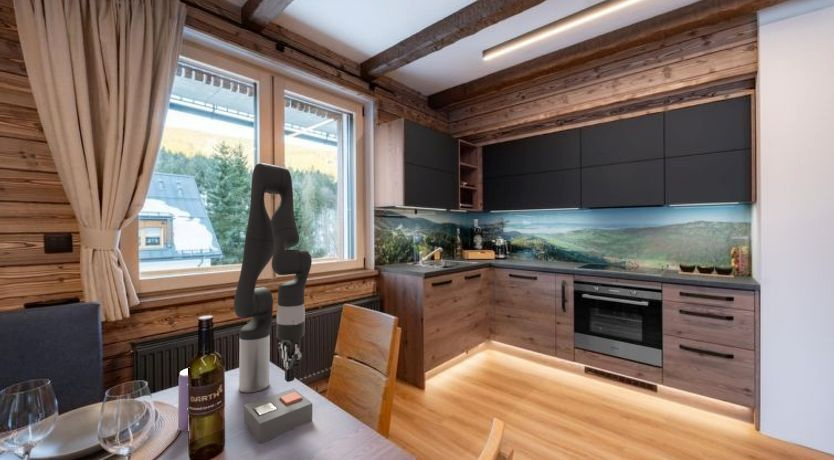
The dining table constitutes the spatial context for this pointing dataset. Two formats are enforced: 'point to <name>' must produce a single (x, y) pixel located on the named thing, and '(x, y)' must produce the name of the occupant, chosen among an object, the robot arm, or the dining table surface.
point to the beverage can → (183, 401)
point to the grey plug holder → (277, 416)
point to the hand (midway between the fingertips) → (289, 380)
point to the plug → (265, 409)
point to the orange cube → (290, 398)
